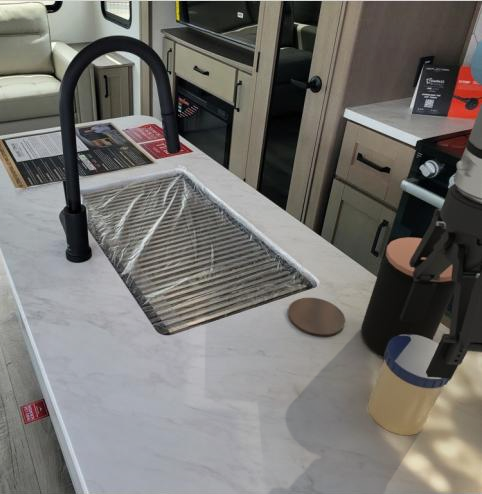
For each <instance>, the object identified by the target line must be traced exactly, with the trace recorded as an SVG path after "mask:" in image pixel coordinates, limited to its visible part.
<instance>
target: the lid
mask: <svg viewBox="0 0 482 494" xmlns="http://www.w3.org/2000/svg"><path fill="white" fill-rule="evenodd" d="M438 345H439V342H437V341H435V340H434V339H433V340H431V339H428V338H426V337H423V336H419V335H414V334H401V335H397V336H395V337H393V338H392V339H391V340H390V341H389V343H388V345H387V347H386V349H385V352H384V354H385V355H384V357H383V359H385V362H386V365H387V366H388V367H389V369H390V370H391V371H392V372H393V373H394V374H395V375H396V376H397V377H399V378H400V379H402V380H403V381H405V382H407V383H409V384H412V385H414V386H418V387H422V388H432V389H433V388H439V387H442V386H444V387H445V386H447V384H448V383H449V382H451V380H452V378H451V379H448V378H435V377H428V376H427V374H426V371H427V368H428V366H429V364H430V362H431V360H432V358H433V356H434V353H435V351H436V349H437V347H438Z"/></svg>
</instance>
